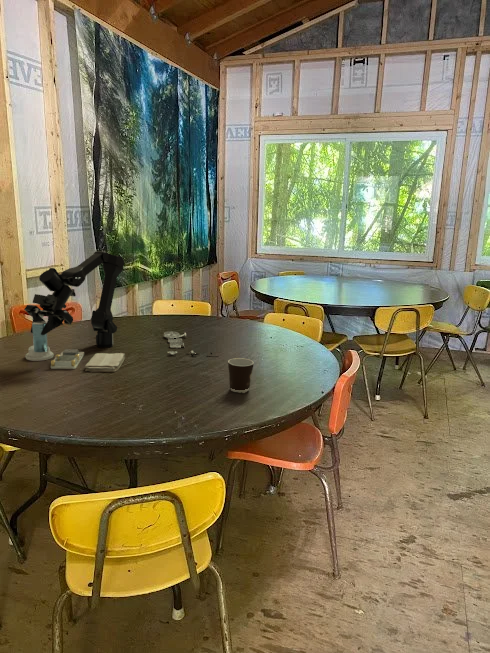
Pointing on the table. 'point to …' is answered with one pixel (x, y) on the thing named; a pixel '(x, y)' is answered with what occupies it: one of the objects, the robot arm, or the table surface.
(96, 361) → the washcloth
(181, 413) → the table surface
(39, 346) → the cylinder
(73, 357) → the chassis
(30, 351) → the mechanical component
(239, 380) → the dark brown cup
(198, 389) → the table surface
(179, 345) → the drone parts
